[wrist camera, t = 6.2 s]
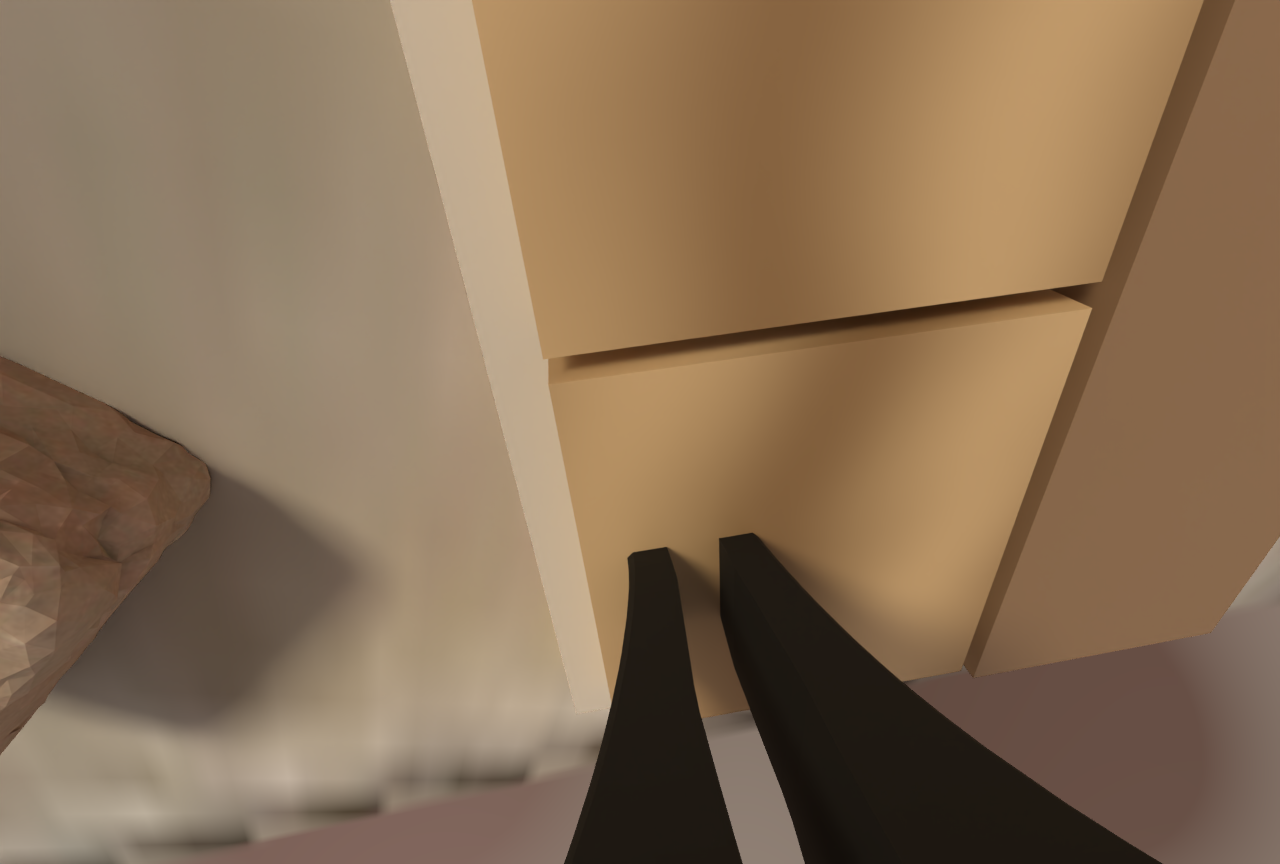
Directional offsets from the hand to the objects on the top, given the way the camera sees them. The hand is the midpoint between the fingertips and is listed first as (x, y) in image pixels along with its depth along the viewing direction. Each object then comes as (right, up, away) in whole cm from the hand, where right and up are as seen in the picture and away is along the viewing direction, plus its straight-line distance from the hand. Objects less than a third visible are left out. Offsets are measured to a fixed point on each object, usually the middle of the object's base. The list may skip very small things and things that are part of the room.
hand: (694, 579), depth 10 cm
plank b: (+2, +1, +1) cm, 2 cm away
